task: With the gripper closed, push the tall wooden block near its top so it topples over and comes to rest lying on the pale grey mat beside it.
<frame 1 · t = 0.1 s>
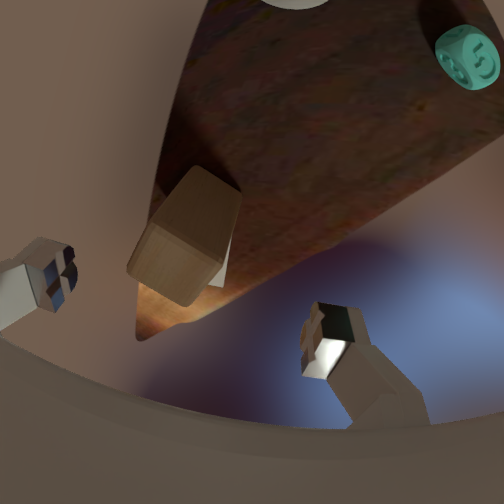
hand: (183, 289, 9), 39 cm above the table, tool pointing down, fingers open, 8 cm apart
decorative dice: (454, 55, 30), on the table
wooden block: (206, 198, 50), on the table, touching mat
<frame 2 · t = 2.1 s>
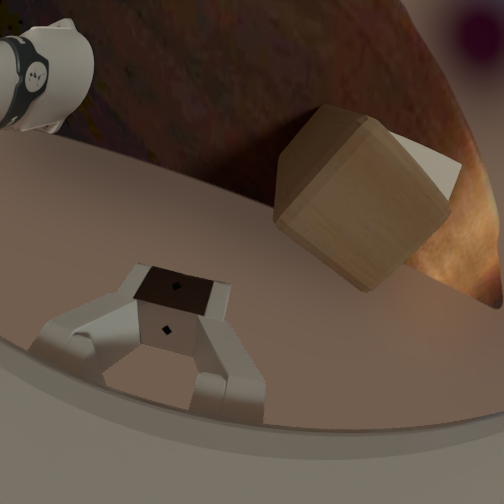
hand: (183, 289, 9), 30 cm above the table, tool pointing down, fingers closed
mat: (409, 184, 36), on the table
wooden block: (329, 154, 35), on the table, touching mat
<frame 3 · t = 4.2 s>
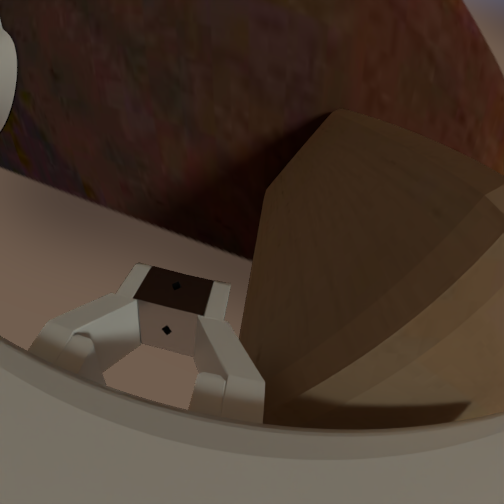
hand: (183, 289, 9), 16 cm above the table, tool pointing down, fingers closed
wooden block: (343, 186, 23), on the table, touching gripper, mat
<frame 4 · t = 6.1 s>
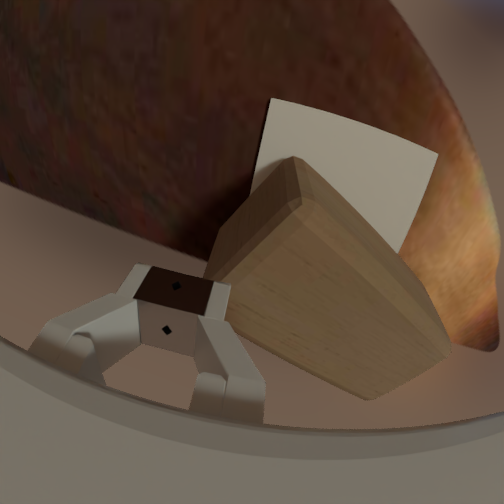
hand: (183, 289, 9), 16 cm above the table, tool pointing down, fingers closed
mat: (342, 190, 24), on the table
wooden block: (242, 217, 20), point 5 cm above the table, touching mat
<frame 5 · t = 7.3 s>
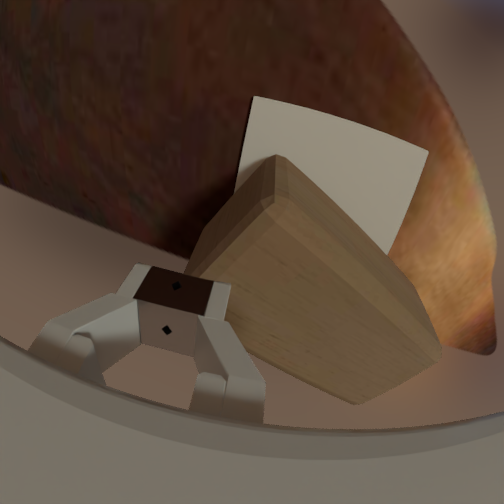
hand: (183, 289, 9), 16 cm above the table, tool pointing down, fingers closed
mat: (328, 189, 23), on the table
wooden block: (221, 216, 19), point 5 cm above the table, touching mat
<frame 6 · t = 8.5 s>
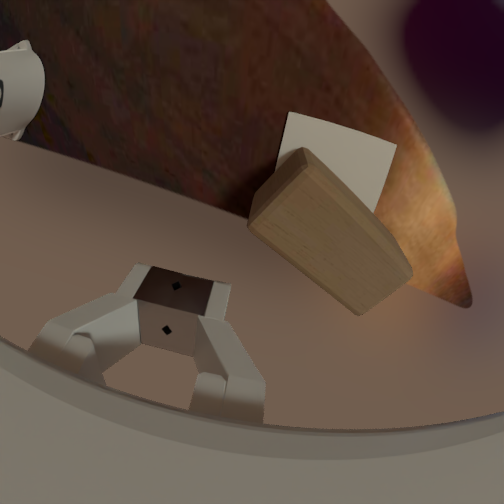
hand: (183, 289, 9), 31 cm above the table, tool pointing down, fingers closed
mat: (333, 169, 37), on the table
wooden block: (273, 180, 33), point 5 cm above the table, touching mat
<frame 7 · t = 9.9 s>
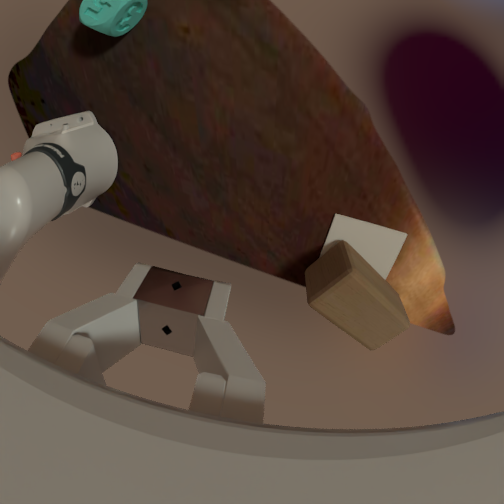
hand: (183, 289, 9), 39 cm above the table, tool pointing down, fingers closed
decorative dice: (124, 12, 32), on the table
mat: (361, 252, 52), on the table
wooden block: (324, 268, 48), point 5 cm above the table, touching mat
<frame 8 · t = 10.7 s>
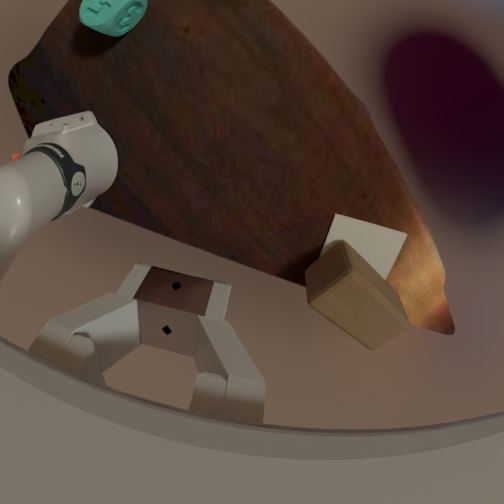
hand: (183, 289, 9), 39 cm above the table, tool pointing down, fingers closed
decorative dice: (124, 12, 32), on the table
mat: (361, 251, 52), on the table
wooden block: (324, 268, 48), point 5 cm above the table, touching mat
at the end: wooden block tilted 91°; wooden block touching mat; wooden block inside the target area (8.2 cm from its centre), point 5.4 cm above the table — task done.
